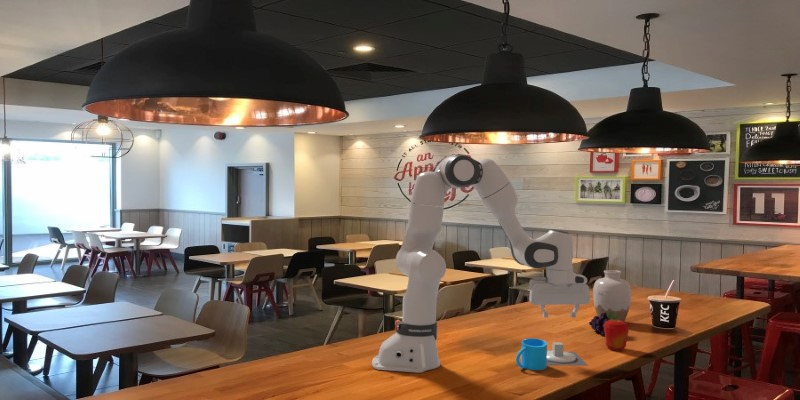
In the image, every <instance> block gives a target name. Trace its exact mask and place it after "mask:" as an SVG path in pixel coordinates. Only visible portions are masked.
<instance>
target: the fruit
mask: <svg viewBox="0 0 800 400" xmlns="http://www.w3.org/2000/svg"><path fill="white" fill-rule="evenodd" d="M609 320H618V316H616V314H615V313H614V311H611V314H610V313H609V312H606V313H601V314H600V317H599V316H597V315H595V316H594V317H593V318H592V319H590V321H589V322H588V324H589V325H590V326H591V329H592V330H594V331H595V332H597V333H599V334H600V335H601V336H603V337H604V336H605V332H604V324H605V322H606V321H609Z"/></svg>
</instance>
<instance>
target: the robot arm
mask: <svg viewBox="0 0 800 400" xmlns="http://www.w3.org/2000/svg"><path fill="white" fill-rule="evenodd" d="M469 186H472V187H473V189H475V190H476V192H477V193H478V195H479V197H480V199H481V200H482V202H483V203H484V205H485V206H486V207H487V209H488V210H489V211H490V212H491V214H492V215H493V217H495V219H496V220H497V222H498V223H499V226H500V228H501V230H502V231H503V232H504V234H505V237H507V240H508V242H509V245H510V252H511V257H512V258H513V260H514V261H515V262H516V263H517V264H518V265H521V266H525V267H529V268H531V269H534V270H535V269H536V270H538V269H544V268H546V276H540V277H538V276H535V277H532V278H530V279H529V282H528V288H529V298H528V300H529V302H530V304H532V305H536V306H537V305H539V308H540V310H541V311H542V318H547V319H548V318H549V312H548V311H546V310H545V308H546V305H547V306H548V305H557V306H561V305H564V306H565V305H566V306H568V305H573V307H574V308H573V310H572V311H570V318H573V319H574V318H576V317H577V312H578V311H579V309H580V306H582V305H586V306H587V305H589V304H590V302H591V292H590V287H589V285H588V284H587V283H588V278H587V277H586V276H585V275H583V274H580V273H578V272H574V266H573V259H574V243H573V242H574V241H573V237H572V235H571V233H569V232H567V231H564V230H560V229H559V230H558V229H550V230H547V231H548V232H546V233H545V234H543V235H541V236H539V237H535V238H533V237H531V236H529V235H528V234H527V233H526V231H525V230H524V228H523V226H522V225H521V223H520V221H519V220H518V217H517V215H516V212H515V211H516V210H515V209H516V207H517V204H518V196H517V193H516V190H515V188H514V186H513V184H512V183H511V181H510V179H509V178H508V176H507V175H506V174H505V172H504V171H503V170H502V168H501V166H499V165H498V164H497V163H496V162H495V161H494V160H493V159H491V158H483V159H480V160H476V159H474V158H472V157H471V156H469V155H466V154H463V153H462V154H460V153H459V154H450V155H448V156H444V157H443V158H442V159H441V160H440V161H438V162H437V164H436V166H435V167H434V168H433V170H431V171H430V170H429V171H428V170H427V171H424V172H421V173H420V174H418V175H417V177H416V180H415V182H414V185H413V189H412V193H411V199H410V205H409V206H410V207H409V213H408V221H407V226H406V231H405V234H404V236H403V237H404V238H403V240H402V244H401V246H400V249H399V250H398V251H397V254H396V256H395V263H396V266H397V268H398V269H399V271H400V272H401V273H402V275H404V276H406V277H408V280H407V281H408V283H407V288H406V291H405V293H404V295H403V297H402V320H400V319H397V320H395V323H394V325H395V327H396V328H395V330H396V331H395V333H393V334H392V335H391V336H390V337H388V338H387V339H385V340H383V342H382V343H381V345H380V348H379V350H378V355H375V356H374V357H373V358H372V361H371V366H372V368H373V369H375V370H380V371H389V372H390V371H391V372H404V373H405V372H407V373H418V374H419V373H424V372H426V371H430V370H434V369H436V368H439V367H440V366H441V363H440V362H441V361H440V358H439V353H438V347H437V339H438V323H437V320H436V319H437V298H438V293H439V289H440V288H439V287H440V284H441V280H442V278H443V277H444V276H445V274H446V273H447V263H446V260H445V259H444V257H443V256H442V255H441V253H439V252H438V251H436V250H435V249H434V244H435V242H436V239H437V237H438V235H439V234H440V233H441V230H442V225H443V224H442V223H443V216H444V207H445V198H446V195H447V193H448V191H449V190H450V189H451V188H452V189H459V188H465V187H469Z"/></svg>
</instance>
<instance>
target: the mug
mask: <svg viewBox="0 0 800 400" xmlns="http://www.w3.org/2000/svg"><path fill="white" fill-rule="evenodd" d="M547 351H548V342H547V341H546V340H544V339H540V338H534V337H533V338H532V337H531V338H524V339H522V340H521V349H520V350H519V351H517V354H516V357H515V361H516V365H517V367H519V368H521V369H527V370H531V371H542V370H545V369H547V367H548V365H547ZM520 358H521V359H520Z"/></svg>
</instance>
